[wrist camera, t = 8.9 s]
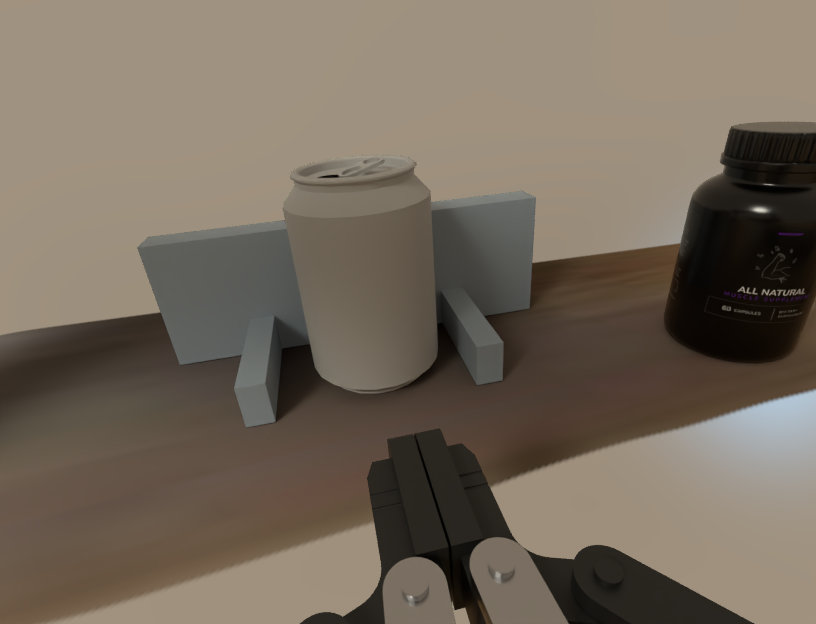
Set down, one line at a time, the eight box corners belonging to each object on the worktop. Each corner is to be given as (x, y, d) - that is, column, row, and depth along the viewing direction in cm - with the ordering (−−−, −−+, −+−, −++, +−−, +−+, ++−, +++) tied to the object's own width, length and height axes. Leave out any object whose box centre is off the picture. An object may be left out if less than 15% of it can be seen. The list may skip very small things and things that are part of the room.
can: (295, 363, 29) (251, 167, 23) (390, 322, 33) (372, 145, 27) (359, 422, 24) (322, 186, 18) (464, 364, 27) (461, 155, 22)
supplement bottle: (744, 380, 24) (823, 140, 19) (638, 326, 30) (674, 129, 24) (823, 345, 27) (914, 122, 21) (710, 300, 32) (758, 115, 27)
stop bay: (144, 446, 23) (79, 304, 19) (187, 349, 31) (148, 236, 28) (585, 365, 26) (602, 231, 23) (518, 297, 35) (523, 190, 31)
